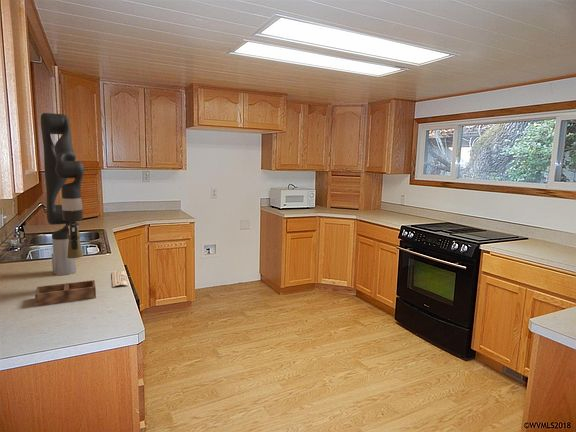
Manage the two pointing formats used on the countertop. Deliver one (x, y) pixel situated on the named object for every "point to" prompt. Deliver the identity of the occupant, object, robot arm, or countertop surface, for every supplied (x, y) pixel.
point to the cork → (77, 252)
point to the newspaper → (119, 278)
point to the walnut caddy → (65, 292)
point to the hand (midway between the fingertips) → (74, 247)
